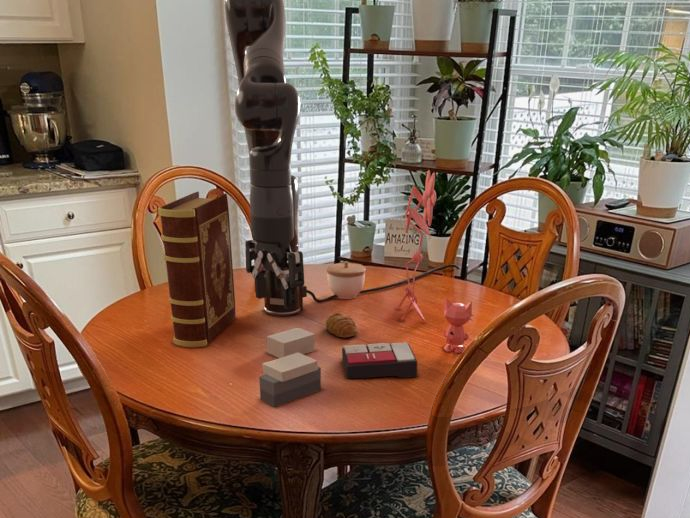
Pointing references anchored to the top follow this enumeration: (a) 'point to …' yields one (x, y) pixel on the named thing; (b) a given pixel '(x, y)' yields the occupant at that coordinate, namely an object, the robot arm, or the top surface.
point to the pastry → (341, 325)
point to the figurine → (428, 203)
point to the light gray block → (290, 342)
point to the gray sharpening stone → (288, 387)
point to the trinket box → (345, 279)
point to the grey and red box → (379, 360)
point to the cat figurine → (456, 324)
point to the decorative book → (198, 267)
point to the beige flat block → (290, 367)
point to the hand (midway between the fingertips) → (275, 302)
